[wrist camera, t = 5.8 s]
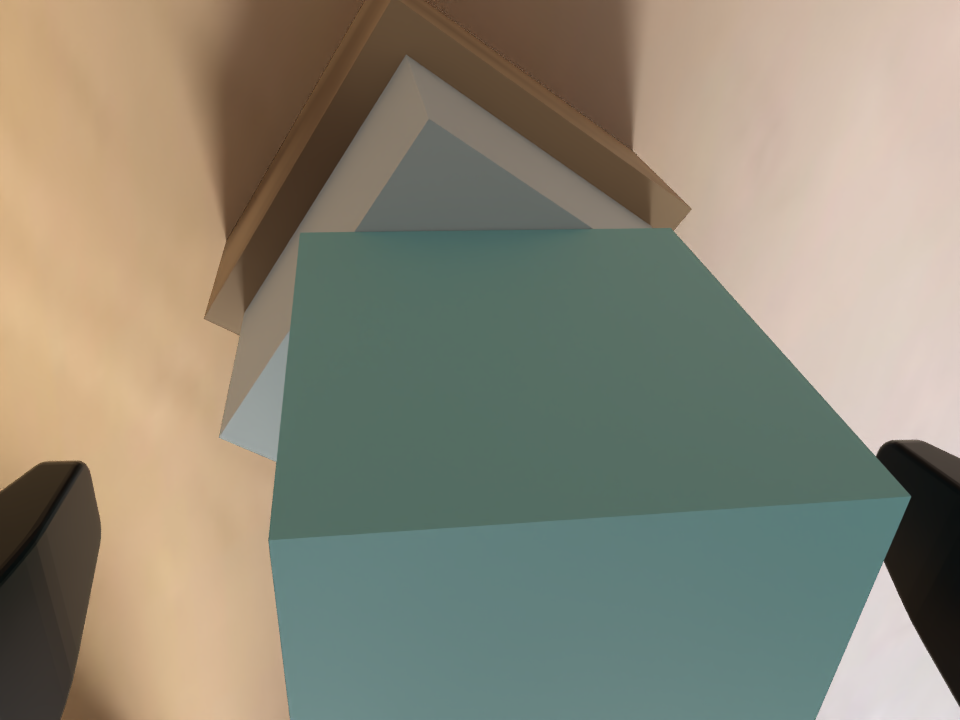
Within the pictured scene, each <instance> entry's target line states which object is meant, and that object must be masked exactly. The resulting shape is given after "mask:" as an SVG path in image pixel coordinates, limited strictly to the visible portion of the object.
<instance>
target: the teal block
mask: <svg viewBox="0 0 960 720" xmlns="http://www.w3.org/2000/svg"><path fill="white" fill-rule="evenodd" d="M910 498H911V495H910V494H909V493H908V492H907V491H906V490H905V489H904V488H903V487H902V485H901V484H900V483H899V482H898V481H897V480H896V479H895V478H894V476H893V475H892V474H891V473H890V472H889V471H888V470H887V469H886V468H885V466H884V465H883V464H882V463H881V462H880V461H879V460H878V459H877V458H876V456H875V455H874V454H873V453H872V452H871V451H870V450H869V449H868V447H867V446H866V445H865V444H864V443H863V442H862V441H861V440H860V439H859V437H858V436H857V435H856V434H855V433H854V432H853V431H852V430H851V429H850V427H849V426H848V425H847V424H846V423H845V422H844V421H843V420H842V418H841V417H840V416H839V415H838V414H837V413H836V412H835V411H834V410H833V408H832V407H831V406H830V405H829V404H828V403H827V402H826V401H825V400H824V398H823V397H822V396H821V395H820V394H819V393H818V392H817V391H816V389H815V388H814V387H813V386H812V385H811V384H810V383H809V382H808V381H807V379H806V378H805V377H804V376H803V375H802V374H801V373H800V372H799V371H798V369H797V368H796V367H795V366H794V365H793V364H792V363H791V362H790V360H789V359H788V358H787V357H786V356H785V355H784V354H783V353H782V352H781V350H780V349H779V348H778V347H777V346H776V345H775V344H774V343H773V342H772V340H771V339H770V338H769V337H768V336H767V335H766V334H765V333H764V332H763V330H762V329H761V328H760V327H759V326H758V325H757V324H756V323H755V321H754V320H753V319H752V318H751V317H750V316H749V315H748V314H747V313H746V311H745V310H744V309H743V308H742V307H741V306H740V305H739V304H738V303H737V301H736V300H735V299H734V298H733V297H732V296H731V295H730V294H729V292H728V291H727V290H726V289H725V288H724V287H723V286H722V285H721V284H720V282H719V281H718V280H717V279H716V278H715V277H714V276H713V275H712V274H711V272H710V271H709V270H708V269H707V268H706V267H705V266H704V265H703V263H702V262H701V261H700V260H699V259H698V258H697V257H696V256H695V255H694V253H693V252H692V251H691V250H690V249H689V248H688V247H687V246H686V245H685V243H684V242H683V241H682V240H681V239H680V238H679V237H678V236H677V234H676V233H675V232H674V231H673V230H672V229H671V228H629V229H548V230H467V231H385V232H304V233H300V237H299V246H298V256H297V266H296V276H295V285H294V295H293V305H292V315H291V325H290V334H289V344H288V354H287V364H286V373H285V383H284V393H283V403H282V413H281V422H280V432H279V442H278V452H277V461H276V471H275V481H274V491H273V501H272V510H271V520H270V530H269V540H268V541H269V549H270V558H271V566H272V574H273V582H274V591H275V599H276V607H277V615H278V624H279V632H280V640H281V648H282V657H283V665H284V673H285V682H286V690H287V698H288V706H289V715H290V720H815V719H816V717H817V714H818V712H819V710H820V708H821V705H822V703H823V701H824V698H825V696H826V694H827V691H828V689H829V687H830V684H831V682H832V680H833V677H834V675H835V673H836V670H837V668H838V666H839V663H840V661H841V659H842V656H843V654H844V652H845V649H846V647H847V645H848V642H849V640H850V638H851V635H852V633H853V631H854V629H855V626H856V624H857V622H858V619H859V617H860V615H861V612H862V610H863V608H864V605H865V603H866V601H867V598H868V596H869V594H870V591H871V589H872V587H873V584H874V582H875V580H876V577H877V575H878V573H879V570H880V568H881V566H882V563H883V561H884V559H885V557H886V554H887V552H888V550H889V547H890V545H891V543H892V540H893V538H894V536H895V533H896V531H897V529H898V526H899V524H900V522H901V519H902V517H903V515H904V512H905V510H906V508H907V505H908V503H909V501H910Z"/></svg>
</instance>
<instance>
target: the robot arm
mask: <svg viewBox="0 0 960 720" xmlns="http://www.w3.org/2000/svg"><path fill="white" fill-rule="evenodd" d="M876 458H877V459H878V460H879V461H880V462H881V463H882V464H883V465H884V466H885V468H886V469H887V470H888V471H889V472H890V473H891V474H892V475H893V476H894V478H895V479H896V480H897V481H898V482H899V483H900V484H901V485H902V487H903V488H904V489H905V490H906V491H907V492H908V493H909V494H910V495H911V498H910V501H909V503H908V505H907V508H906V510H905V512H904V515H903V517H902V519H901V522H900V524H899V526H898V529H897V531H896V533H895V536H894V538H893V540H892V543H891V545H890V547H889V550H888V552H887V554H886V557H885V559H884V563H885V565H886V567H887V570H888V572H889V574H890V576H891V578H892V581H893V583H894V585H895V587H896V589H897V592H898V594H899V596H900V598H901V601H902V603H903V605H904V607H905V609H906V611H907V613H908V615H909V618H910V620H911V622H912V624H913V626H914V627H915V629H916V631H917V633H918V635H919V637H920V638H921V640H922V642H923V644H924V646H925V647H926V649H927V651H928V653H929V654H930V656H931V658H932V660H933V661H934V663H935V665H936V667H937V668H938V670H939V672H940V674H941V675H942V677H943V679H944V681H945V682H946V684H947V686H948V688H949V689H950V691H951V693H952V695H953V696H954V698H955V700H956V702H957V703H958V705H959V707H960V458H958V457H956V456H954V455H952V454H950V453H947V452H945V451H943V450H941V449H939V448H937V447H935V446H933V445H931V444H928V443H926V442H924V441H920V440H891V441H888V442H886V443H885V444H883V445H882V446H881V447H880V449H879V451H878V453H877V455H876ZM100 540H101V522H100V517H99V512H98V507H97V502H96V498H95V493H94V488H93V483H92V478H91V474H90V470H89V468H88V467H87V465H86V464H85V463H83V462H82V461H47V462H42V463H40V464H38V465H36V466H35V467H33V468H32V469H30V470H29V471H28V472H26V473H25V474H24V475H22V476H21V477H20V478H18V479H17V480H15V481H14V482H13V483H11V484H10V485H9V486H7V487H6V488H5V489H3V490H2V491H0V720H61V717H62V714H63V711H64V708H65V705H66V702H67V698H68V695H69V692H70V688H71V685H72V681H73V677H74V673H75V668H76V664H77V659H78V654H79V649H80V644H81V639H82V634H83V629H84V624H85V618H86V613H87V608H88V603H89V598H90V593H91V588H92V583H93V578H94V573H95V568H96V563H97V557H98V552H99V547H100Z"/></svg>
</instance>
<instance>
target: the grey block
mask: <svg viewBox="0 0 960 720" xmlns="http://www.w3.org/2000/svg"><path fill="white" fill-rule="evenodd" d="M629 228H652V227H651V226H650V225H649V224H648V223H646V222H645V221H643V220H642V219H640V218H639V217H638V216H636V215H635V214H633V213H632V212H630V211H629V210H628V209H626V208H625V207H623V206H622V205H620V204H619V203H618V202H616V201H615V200H613V199H612V198H610V197H609V196H608V195H606V194H605V193H603V192H602V191H600V190H599V189H598V188H596V187H595V186H593V185H592V184H590V183H589V182H588V181H586V180H585V179H583V178H582V177H580V176H579V175H578V174H576V173H575V172H573V171H572V170H570V169H569V168H568V167H566V166H565V165H563V164H562V163H560V162H559V161H558V160H556V159H555V158H553V157H552V156H550V155H549V154H548V153H546V152H545V151H543V150H542V149H540V148H539V147H538V146H536V145H535V144H533V143H532V142H530V141H529V140H528V139H526V138H525V137H523V136H522V135H520V134H519V133H518V132H516V131H515V130H513V129H512V128H510V127H509V126H508V125H506V124H505V123H503V122H502V121H500V120H499V119H498V118H496V117H495V116H493V115H492V114H490V113H489V112H488V111H486V110H485V109H483V108H482V107H480V106H479V105H478V104H476V103H475V102H473V101H472V100H470V99H469V98H468V97H466V96H465V95H463V94H462V93H460V92H459V91H458V90H456V89H455V88H453V87H452V86H450V85H449V84H448V83H446V82H445V81H443V80H442V79H440V78H439V77H438V76H436V75H435V74H433V73H432V72H430V71H429V70H428V69H426V68H425V67H423V66H422V65H420V64H419V63H418V62H416V61H415V60H413V59H412V58H410V57H409V56H408V55H406V56H405V57H404V59H403V60H402V62H401V64H400V65H399V67H398V68H397V70H396V72H395V73H394V75H393V76H392V78H391V79H390V81H389V83H388V84H387V86H386V87H385V89H384V91H383V92H382V94H381V95H380V97H379V99H378V100H377V102H376V103H375V105H374V107H373V108H372V110H371V111H370V113H369V115H368V116H367V118H366V119H365V121H364V123H363V124H362V126H361V127H360V129H359V131H358V132H357V134H356V135H355V137H354V139H353V140H352V142H351V143H350V145H349V147H348V148H347V150H346V151H345V153H344V155H343V156H342V158H341V159H340V161H339V163H338V164H337V166H336V167H335V169H334V171H333V172H332V174H331V175H330V177H329V179H328V180H327V182H326V183H325V185H324V186H323V188H322V190H321V191H320V193H319V194H318V196H317V198H316V199H315V201H314V202H313V204H312V206H311V207H310V209H309V210H308V212H307V214H306V215H305V217H304V218H303V220H302V222H301V223H300V225H299V226H298V228H297V230H296V231H295V233H294V234H293V236H292V238H291V239H290V241H289V242H288V244H287V246H286V247H285V249H284V250H283V252H282V254H281V255H280V257H279V258H278V260H277V262H276V263H275V265H274V266H273V268H272V270H271V271H270V273H269V274H268V276H267V278H266V279H265V281H264V282H263V284H262V286H261V287H260V289H259V290H258V292H257V293H256V295H255V297H254V298H253V300H252V301H251V303H250V305H249V306H248V308H247V309H246V311H245V313H244V317H243V322H242V327H241V332H240V337H239V342H238V347H237V352H236V356H235V361H234V366H233V371H232V376H231V381H230V386H229V390H228V395H227V400H226V405H225V410H224V415H223V420H222V424H221V429H220V434H219V438H221V439H223V440H226V441H228V442H230V443H233V444H235V445H237V446H240V447H242V448H245V449H247V450H249V451H252V452H254V453H257V454H259V455H261V456H264V457H266V458H268V459H271V460H273V461H277V452H278V442H279V432H280V422H281V413H282V403H283V393H284V383H285V373H286V364H287V354H288V344H289V334H290V325H291V315H292V305H293V295H294V285H295V276H296V266H297V256H298V246H299V237H300V233H304V232H385V231H467V230H548V229H629Z"/></svg>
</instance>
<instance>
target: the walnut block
mask: <svg viewBox="0 0 960 720" xmlns="http://www.w3.org/2000/svg"><path fill="white" fill-rule="evenodd" d="M406 55H408V56H409V57H410V58H412V59H413V60H415V61H416V62H418V63H419V64H420V65H422V66H423V67H425V68H426V69H428V70H429V71H430V72H432V73H433V74H435V75H436V76H438V77H439V78H440V79H442V80H443V81H445V82H446V83H448V84H449V85H450V86H452V87H453V88H455V89H456V90H458V91H459V92H460V93H462V94H463V95H465V96H466V97H468V98H469V99H470V100H472V101H473V102H475V103H476V104H478V105H479V106H480V107H482V108H483V109H485V110H486V111H488V112H489V113H490V114H492V115H493V116H495V117H496V118H498V119H499V120H500V121H502V122H503V123H505V124H506V125H508V126H509V127H510V128H512V129H513V130H515V131H516V132H518V133H519V134H520V135H522V136H523V137H525V138H526V139H528V140H529V141H530V142H532V143H533V144H535V145H536V146H538V147H539V148H540V149H542V150H543V151H545V152H546V153H548V154H549V155H550V156H552V157H553V158H555V159H556V160H558V161H559V162H560V163H562V164H563V165H565V166H566V167H568V168H569V169H570V170H572V171H573V172H575V173H576V174H578V175H579V176H580V177H582V178H583V179H585V180H586V181H588V182H589V183H590V184H592V185H593V186H595V187H596V188H598V189H599V190H600V191H602V192H603V193H605V194H606V195H608V196H609V197H610V198H612V199H613V200H615V201H616V202H618V203H619V204H620V205H622V206H623V207H625V208H626V209H628V210H629V211H630V212H632V213H633V214H635V215H636V216H638V217H639V218H640V219H642V220H643V221H645V222H646V223H648V224H649V225H650V226H651V227H652V228H671V229H672V230H673V231H674V230H675V229H676V227H677V226H678V225H679V224H680V223H681V221H682V220H683V219H684V218H685V216H686V215H687V214H688V213H689V212H690V210H691V208H690V207H689V206H688V205H687V204H686V203H685V202H684V201H683V200H682V199H681V198H680V197H679V196H678V195H677V194H676V193H675V192H674V191H673V190H672V189H671V188H670V187H669V186H668V185H667V184H666V183H665V182H664V181H663V180H662V179H661V178H660V177H659V176H658V175H657V174H656V173H655V172H654V171H653V170H652V169H650V168H649V167H648V166H647V165H646V164H645V163H644V162H643V161H642V160H641V159H640V158H639V157H638V156H637V155H636V154H635V153H634V152H633V151H632V150H631V149H629V148H628V147H626V146H625V145H624V144H622V143H621V142H619V141H618V140H617V139H615V138H614V137H613V136H611V135H610V134H608V133H607V132H606V131H604V130H603V129H601V128H600V127H599V126H597V125H596V124H595V123H593V122H592V121H590V120H589V119H588V118H586V117H585V116H584V115H582V114H581V113H579V112H578V111H577V110H575V109H574V108H572V107H571V106H570V105H568V104H567V103H566V102H564V101H563V100H561V99H560V98H559V97H557V96H556V95H555V94H553V93H552V92H550V91H549V90H548V89H546V88H545V87H543V86H542V85H541V84H539V83H538V82H537V81H535V80H534V79H532V78H531V77H530V76H528V75H527V74H525V73H524V72H523V71H521V70H520V69H519V68H517V67H516V66H514V65H513V64H512V63H510V62H509V61H508V60H506V59H505V58H503V57H502V56H501V55H499V54H498V53H496V52H495V51H494V50H492V49H491V48H490V47H488V46H487V45H485V44H484V43H483V42H481V41H480V40H479V39H477V38H476V37H474V36H473V35H472V34H470V33H469V32H467V31H466V30H465V29H463V28H462V27H461V26H459V25H458V24H456V23H455V22H454V21H452V20H451V19H449V18H448V17H447V16H445V15H444V14H443V13H441V12H440V11H438V10H437V9H436V8H434V7H433V6H432V5H430V4H429V3H427V2H426V1H425V0H365V1H364V3H363V4H362V6H361V8H360V10H359V11H358V13H357V15H356V17H355V18H354V20H353V22H352V24H351V25H350V27H349V29H348V31H347V32H346V34H345V36H344V37H343V39H342V41H341V43H340V44H339V46H338V48H337V50H336V51H335V53H334V55H333V57H332V58H331V60H330V62H329V64H328V65H327V67H326V69H325V71H324V72H323V74H322V76H321V78H320V79H319V81H318V83H317V85H316V86H315V88H314V90H313V91H312V93H311V95H310V97H309V98H308V100H307V102H306V104H305V105H304V107H303V109H302V111H301V112H300V114H299V116H298V118H297V119H296V121H295V123H294V125H293V126H292V128H291V130H290V132H289V133H288V135H287V137H286V138H285V140H284V142H283V144H282V145H281V147H280V149H279V151H278V152H277V154H276V156H275V158H274V159H273V161H272V163H271V165H270V166H269V168H268V170H267V172H266V173H265V175H264V177H263V179H262V180H261V182H260V184H259V186H258V187H257V189H256V191H255V192H254V194H253V196H252V198H251V199H250V201H249V203H248V205H247V206H246V208H245V210H244V212H243V213H242V215H241V217H240V219H239V220H238V222H237V224H236V226H235V227H234V229H233V231H232V233H231V234H230V236H229V238H228V239H227V241H226V244H225V248H224V251H223V255H222V258H221V262H220V265H219V268H218V272H217V275H216V279H215V282H214V286H213V289H212V293H211V296H210V299H209V303H208V306H207V310H206V313H205V317H204V319H206V320H208V321H210V322H212V323H214V324H216V325H218V326H220V327H223V328H225V329H227V330H229V331H231V332H233V333H235V334H237V335H240V332H241V327H242V322H243V317H244V313H245V311H246V309H247V308H248V306H249V305H250V303H251V301H252V300H253V298H254V297H255V295H256V293H257V292H258V290H259V289H260V287H261V286H262V284H263V282H264V281H265V279H266V278H267V276H268V274H269V273H270V271H271V270H272V268H273V266H274V265H275V263H276V262H277V260H278V258H279V257H280V255H281V254H282V252H283V250H284V249H285V247H286V246H287V244H288V242H289V241H290V239H291V238H292V236H293V234H294V233H295V231H296V230H297V228H298V226H299V225H300V223H301V222H302V220H303V218H304V217H305V215H306V214H307V212H308V210H309V209H310V207H311V206H312V204H313V202H314V201H315V199H316V198H317V196H318V194H319V193H320V191H321V190H322V188H323V186H324V185H325V183H326V182H327V180H328V179H329V177H330V175H331V174H332V172H333V171H334V169H335V167H336V166H337V164H338V163H339V161H340V159H341V158H342V156H343V155H344V153H345V151H346V150H347V148H348V147H349V145H350V143H351V142H352V140H353V139H354V137H355V135H356V134H357V132H358V131H359V129H360V127H361V126H362V124H363V123H364V121H365V119H366V118H367V116H368V115H369V113H370V111H371V110H372V108H373V107H374V105H375V103H376V102H377V100H378V99H379V97H380V95H381V94H382V92H383V91H384V89H385V87H386V86H387V84H388V83H389V81H390V79H391V78H392V76H393V75H394V73H395V72H396V70H397V68H398V67H399V65H400V64H401V62H402V60H403V59H404V57H405V56H406Z"/></svg>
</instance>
